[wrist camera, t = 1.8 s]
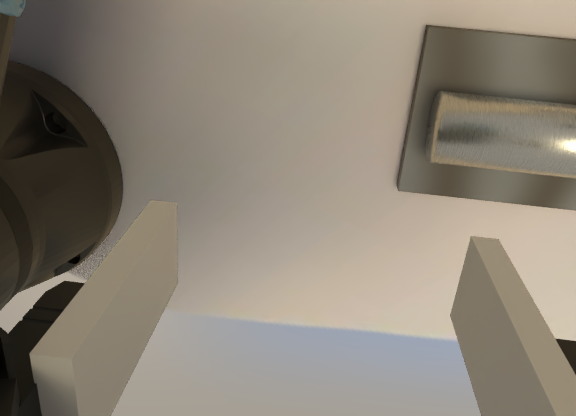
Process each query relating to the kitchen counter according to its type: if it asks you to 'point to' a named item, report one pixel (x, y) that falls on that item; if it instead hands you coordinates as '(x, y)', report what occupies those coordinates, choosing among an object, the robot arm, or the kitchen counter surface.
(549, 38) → the board
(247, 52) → the kitchen counter surface
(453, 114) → the tube
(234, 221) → the kitchen counter surface
